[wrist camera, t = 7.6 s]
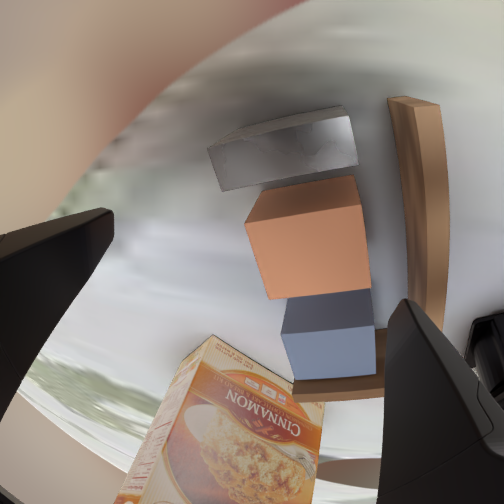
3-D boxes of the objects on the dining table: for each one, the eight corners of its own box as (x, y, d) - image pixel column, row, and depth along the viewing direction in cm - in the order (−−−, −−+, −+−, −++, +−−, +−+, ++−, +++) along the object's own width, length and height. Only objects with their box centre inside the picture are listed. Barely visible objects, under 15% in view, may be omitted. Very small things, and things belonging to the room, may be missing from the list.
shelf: (419, 333, 24) (431, 389, 19) (303, 346, 27) (294, 402, 22) (405, 96, 15) (439, 105, 10) (238, 128, 19) (204, 149, 14)
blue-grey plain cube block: (372, 326, 24) (375, 373, 20) (302, 333, 26) (295, 380, 22) (368, 277, 22) (374, 325, 18) (290, 287, 24) (280, 334, 20)
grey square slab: (350, 141, 17) (359, 165, 13) (248, 161, 19) (221, 191, 15) (341, 105, 16) (348, 115, 12) (238, 128, 18) (207, 148, 14)
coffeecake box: (327, 401, 31) (300, 573, 15) (285, 420, 35) (250, 566, 18) (212, 331, 28) (126, 530, 12) (180, 360, 32) (104, 519, 16)
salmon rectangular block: (364, 243, 21) (371, 287, 17) (281, 255, 23) (269, 299, 19) (353, 174, 19) (361, 204, 14) (262, 190, 21) (244, 223, 16)
